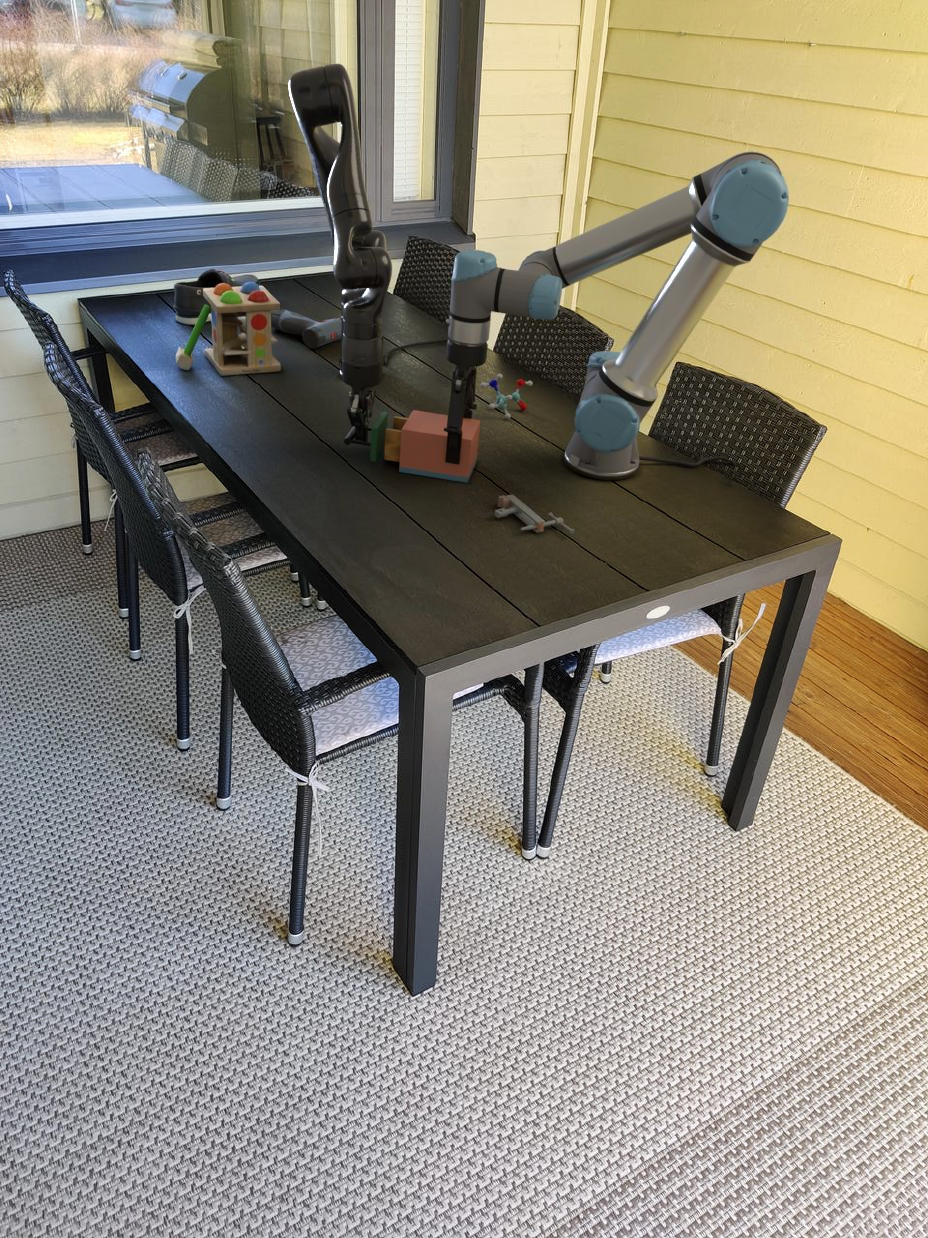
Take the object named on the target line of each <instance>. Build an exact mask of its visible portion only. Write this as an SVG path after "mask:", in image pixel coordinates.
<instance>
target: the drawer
mask: <svg viewBox="0 0 928 1238" xmlns="http://www.w3.org/2000/svg"><path fill="white" fill-rule="evenodd" d="M408 418H409V417H403V416H396V415H394V416H393V418H392V420H393V421H392V428H389V411H382V412H381V413H380V414H379V415H378V417H377V418H376V420H375V422H373V425H372V426H368V432H370V441H367V442H366V441H360V440H355V426H352V428H351V429H350V431H349V432H348V433H347V435H346V436H345V438H344V439H343V443H344V445H346V446H349V445H351V444H356V445H361V446H366V447H367V446H368V447H370V449H369V450H370V451H369V453H370V454H369V461H370V462H377V460H378V459H379V458H380V456H381V455H382V453H383V451H384V455H383V456H384V457H383V459H384V460H385V461H390V462H391V461H392V462H398V463H400V449H401V431H402V428H403V426H404V425H405V423H406V421H407V420H408Z"/></svg>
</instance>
